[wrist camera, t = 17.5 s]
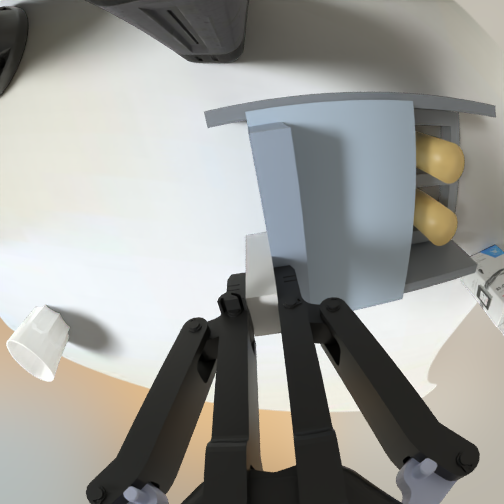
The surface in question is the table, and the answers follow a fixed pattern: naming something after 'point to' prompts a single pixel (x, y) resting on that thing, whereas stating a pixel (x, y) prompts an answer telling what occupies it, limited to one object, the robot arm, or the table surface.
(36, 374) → the cup
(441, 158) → the cylinder
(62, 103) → the table surface
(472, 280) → the ink box
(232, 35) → the electronic device
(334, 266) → the lid
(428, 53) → the table surface
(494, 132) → the table surface
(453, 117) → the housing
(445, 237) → the peg
